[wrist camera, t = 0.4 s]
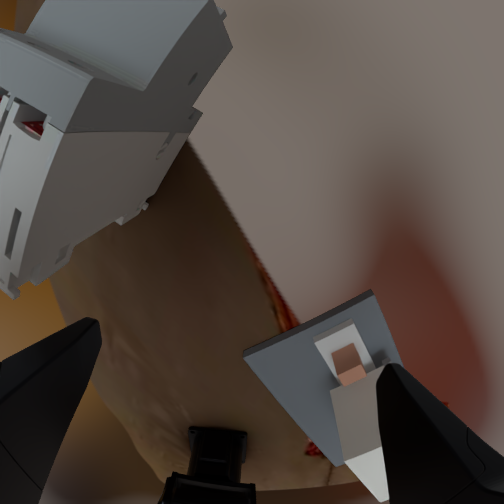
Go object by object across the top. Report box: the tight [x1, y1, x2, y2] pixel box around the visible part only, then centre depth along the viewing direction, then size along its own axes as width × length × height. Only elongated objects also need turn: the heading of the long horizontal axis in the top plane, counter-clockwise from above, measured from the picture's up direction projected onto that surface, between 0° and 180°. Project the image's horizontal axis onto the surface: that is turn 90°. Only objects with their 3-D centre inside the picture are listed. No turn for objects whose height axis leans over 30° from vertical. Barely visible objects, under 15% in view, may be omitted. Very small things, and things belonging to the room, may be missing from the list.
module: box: [330, 357, 392, 502], centre depth 23 cm, size 6×12×8 cm, turn 31°
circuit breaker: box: [0, 0, 233, 300], centre depth 13 cm, size 8×14×15 cm, turn 146°
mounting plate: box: [243, 289, 404, 467], centre depth 27 cm, size 12×22×5 cm, turn 31°
